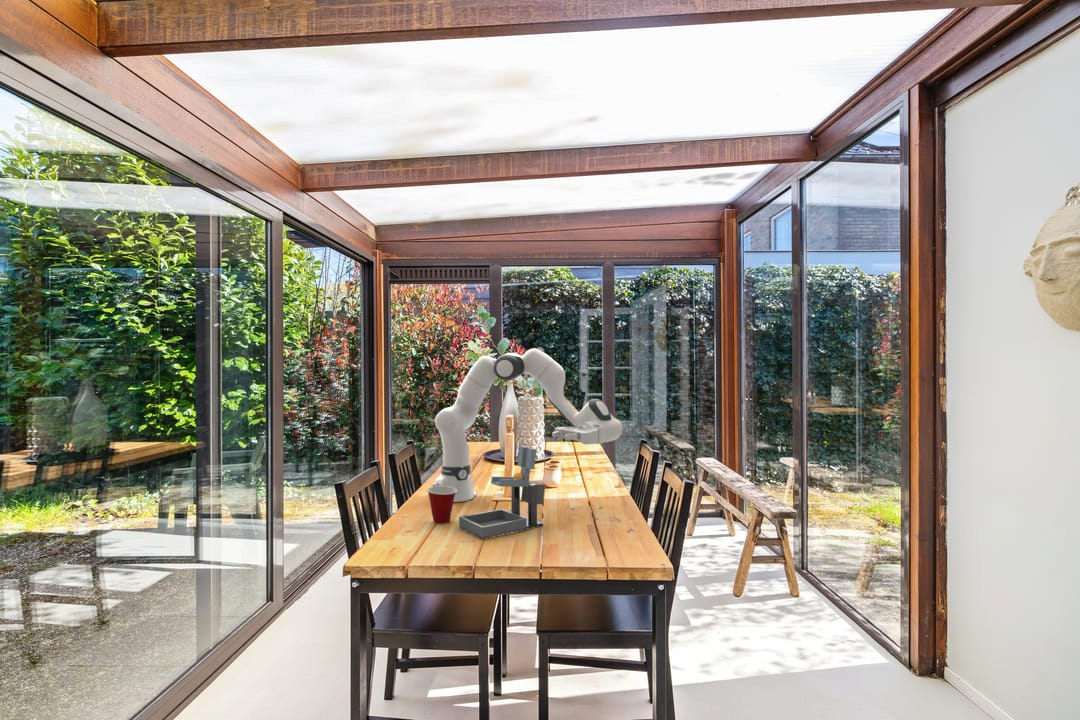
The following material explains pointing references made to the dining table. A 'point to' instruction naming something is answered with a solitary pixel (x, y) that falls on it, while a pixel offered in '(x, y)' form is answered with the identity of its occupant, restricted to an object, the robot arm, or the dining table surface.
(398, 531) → the dining table surface
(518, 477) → the ball
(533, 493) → the lever stand
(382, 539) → the dining table surface
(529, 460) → the lever
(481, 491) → the dining table surface
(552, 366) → the robot arm
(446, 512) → the plastic cup
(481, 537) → the tray
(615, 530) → the dining table surface
